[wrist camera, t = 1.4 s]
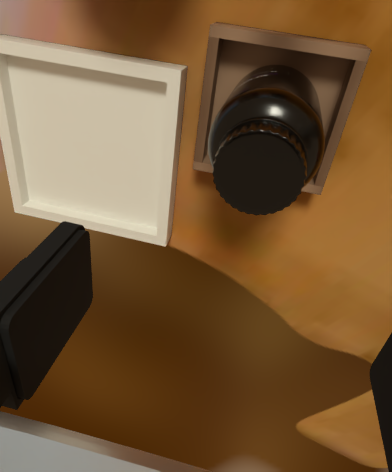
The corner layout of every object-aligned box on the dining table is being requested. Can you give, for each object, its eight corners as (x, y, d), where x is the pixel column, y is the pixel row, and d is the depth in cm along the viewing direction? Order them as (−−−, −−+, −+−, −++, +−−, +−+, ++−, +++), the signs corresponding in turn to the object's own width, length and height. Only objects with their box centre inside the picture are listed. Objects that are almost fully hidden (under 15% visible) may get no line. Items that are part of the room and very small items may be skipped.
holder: (365, 45, 25) (371, 49, 23) (318, 181, 31) (320, 194, 29) (216, 22, 27) (210, 24, 24) (199, 158, 32) (192, 169, 30)
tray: (187, 66, 29) (181, 70, 27) (171, 235, 38) (165, 246, 36) (-2, 33, 30) (-19, 36, 29) (26, 203, 39) (14, 212, 38)
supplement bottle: (252, 45, 26) (227, 78, 17) (337, 88, 27) (363, 144, 17) (213, 132, 30) (175, 199, 21) (288, 168, 31) (286, 251, 21)
